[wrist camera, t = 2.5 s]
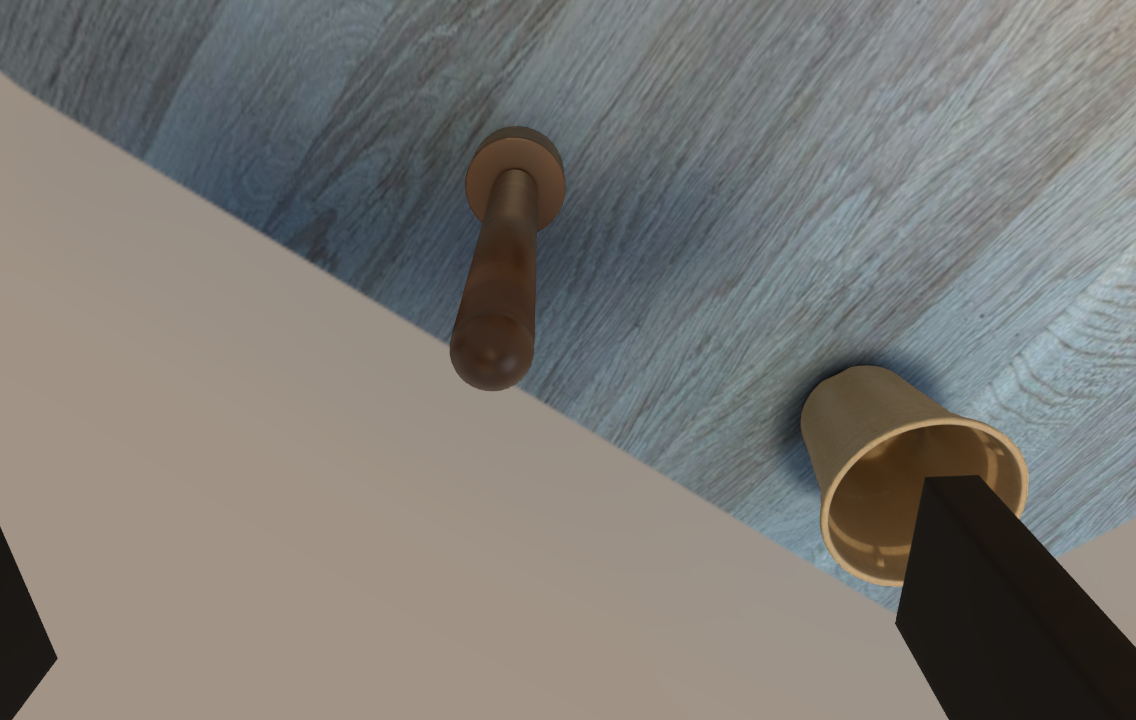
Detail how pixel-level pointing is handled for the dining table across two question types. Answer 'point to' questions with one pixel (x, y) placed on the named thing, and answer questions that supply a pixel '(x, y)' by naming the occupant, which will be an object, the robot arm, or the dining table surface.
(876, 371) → the flower pot
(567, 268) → the dining table surface
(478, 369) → the wooden pestle
